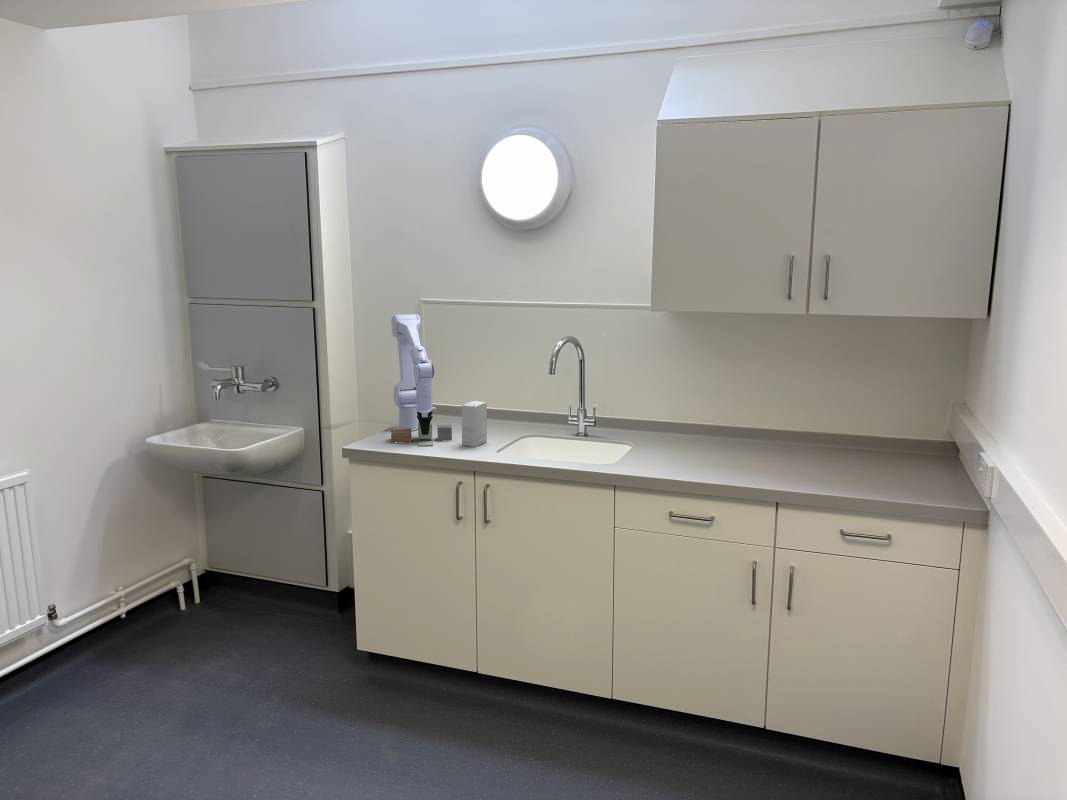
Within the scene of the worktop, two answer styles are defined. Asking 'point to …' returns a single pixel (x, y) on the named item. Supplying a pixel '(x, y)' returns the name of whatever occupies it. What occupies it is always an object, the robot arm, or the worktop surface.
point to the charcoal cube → (444, 432)
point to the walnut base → (401, 435)
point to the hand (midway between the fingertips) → (425, 432)
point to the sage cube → (425, 435)
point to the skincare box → (474, 423)
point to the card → (426, 443)
